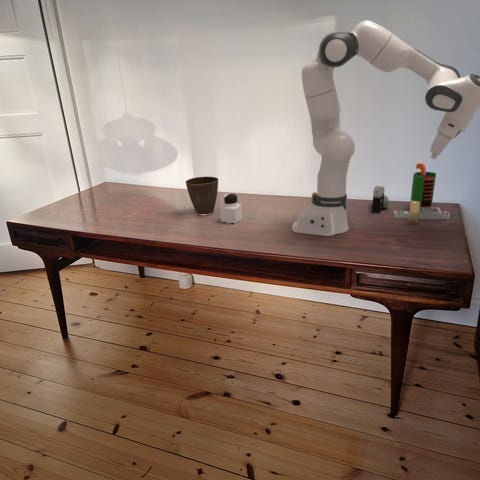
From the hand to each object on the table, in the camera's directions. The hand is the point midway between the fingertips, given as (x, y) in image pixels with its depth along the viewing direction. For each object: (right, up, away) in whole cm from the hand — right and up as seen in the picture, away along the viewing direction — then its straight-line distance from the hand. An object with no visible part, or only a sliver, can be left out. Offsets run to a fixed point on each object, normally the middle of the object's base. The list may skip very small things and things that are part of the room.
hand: (437, 152), depth 160 cm
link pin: (-5, -26, +12) cm, 29 cm away
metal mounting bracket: (+1, -24, +18) cm, 30 cm away
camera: (-12, -19, +31) cm, 39 cm away
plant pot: (-91, -21, +39) cm, 101 cm away
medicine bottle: (-79, -25, +26) cm, 87 cm away
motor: (+5, -20, +28) cm, 35 cm away
